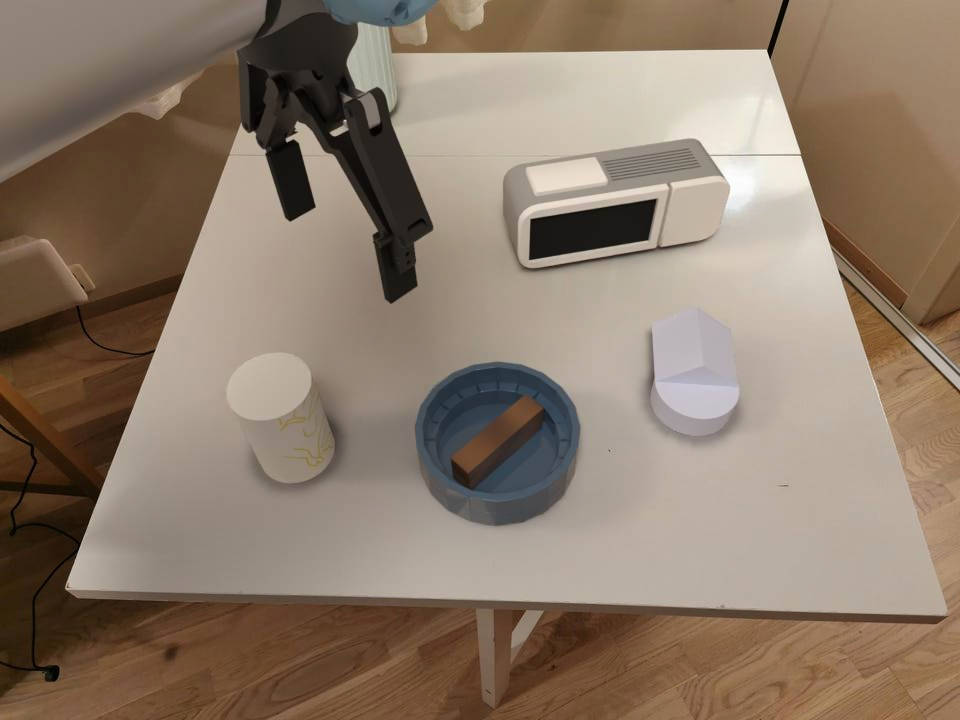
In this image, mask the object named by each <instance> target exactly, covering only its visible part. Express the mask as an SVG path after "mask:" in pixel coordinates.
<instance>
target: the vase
mask: <svg viewBox="0 0 960 720" xmlns="http://www.w3.org/2000/svg"><path fill="white" fill-rule="evenodd" d="M357 24H358V38H357V41H356V43H355V45H354V47H353V48H352V50H351V52H350V54H349V57H348V59H347V66H348V70H349V72H350V75H351V78H352V80H353V82H354V84H355V87H356V89H358V90H361V91H363V92H367V91H369V90H371V89H373V88H375V87H379V88H381V89H382V91H383V92H384V94H385V96H386V99H387V103H388V108H389V113H391V112H392V111H393V110H394V108H395V106H396V104H397V101H398V89H397V82H396V73H395V67H394V59H393V58H394V57H393V52H392V51H393V50H392V44H391V37H390V29H389V28H390V27H380V26H375V25H371V24H366V23H362V22H359V23H357Z"/></svg>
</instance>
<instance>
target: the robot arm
mask: <svg viewBox="0 0 960 720" xmlns="http://www.w3.org/2000/svg"><path fill="white" fill-rule="evenodd" d="M439 1H440V0H0V184H1V183H3V182H5V181H7V180H9V179H11V178H12V177H14V176H16V175H17V174H20V173H21V172H23V171H25V170H27V169H28V168H30V167H32V166H34V165H36V164H37V163H39V162H41V161H43V160H44V159H46V158H48V157H50V156H52V155H53V154H55V153H57V152H59V151H61V150H62V149H64V148H66V147H68V146H69V145H71V144H73V143H75V142H76V141H78V140H81V139H82V138H84V137H85V136H88V135H89V134H91V133H93V132H94V131H96V130H98V129H100V128H101V127H103V126H105V125H106V124H108V123H111V122H112V121H114V120H116V119H117V118H119V117H121V116H123V115H125V114H126V113H128V112H130V111H132V110H134V109H136V108H137V107H139V106H141V105H143V104H144V103H146V102H148V101H149V100H151V99H154V98H155V97H157V96H158V95H161V94H163V93H164V92H165V91H168V90H170V89H171V88H173V87H175V86H176V85H178V84H180V83H182V82H183V81H186V80H187V79H189V78H191V77H192V76H194V75H196V74H198V73H199V72H201V71H203V70H205V69H207V68H209V67H210V66H212V65H214V64H215V63H218V62H220V61H221V60H223V59H224V58H226V57H229V56H230V55H231V54H234V53H236V56H237V60H238V85H239V107H240V108H239V109H240V123H241V126H242V129H243V130H244V131H245V132H246V133H247V134H251V133H253V132H254V133H255V140H256V144H257V145H258V146H259V147H260V149H262V150H265V153H264V156H265V159H266V161H267V166H268V168H269V171H270V174H271V177H272V181H273V185H274V188H275V190H276V193H277V196H278V200H279V203H280V206H281V209H282V212H283V216H284V219H285V220H287V222H289V223H290V222H293V221H295V220H296V219H298V218H300V217H302V216H304V215H306V214H307V213H309V212H310V211H313V210H315V208H317V206H316V205H317V204H316V202H315V199H314V194H313V191H312V190H313V189H312V187H311V183H310V180H309V176H308V172H307V168H306V164H305V161H304V157H303V153H302V150H301V149H302V148H301V146H300V142H298V141H297V140H296V139H294V138H293V139H291V140H289V141H287V139H288V138H290V137H292V136H294V135H296V134H298V133H299V131H296V130H297V128H296V125H297V122H298V123H299V124H303V125H305V126H306V127H307V128H308V129H309V130H310V131H311V132H312V134H313V135H314V137H315V139H316V141H317V142H318V144H319V145H320V148H321V149H322V150H323V152H324V153H326V154H328V155H329V154H330V155H332V156H334V158H335V159H336V161H337V162H338V164H339V166H340V168H341V169H342V172H343V173H344V175H345V176H346V179H347V180H348V182H349V184H350V185H351V187H352V188H353V191H354V192H355V194H356V196H357V197H358V199H359V201H360V203H361V204H362V206H363V207H364V210H365V211H366V213H367V215H368V217H369V218H370V220H371V221H372V223H373V226H374V227H375V228H376V230H377V231H376V232H374V233H373V234H372V244H373V246H374V250H375V255H376V262H377V267H378V271H379V276H380V277H379V278H380V281H381V287H382V293H383V297H384V300H385V301H386V302H388V303H389V305H392V304H394V303H395V302H396V301H398V300H399V299H401V298H403V297H404V296H406V295H407V294H409V293H410V292H411V291H413V290H414V289H416V288H417V287H418V285H419V284H418V278H417V277H418V276H417V271H416V264H417V256H416V248H415V243H416V242H417V241H419V240H420V239H422V238H424V237H425V236H427V235H428V234H430V233H431V232H433V231H434V224H433V221H432V219H431V217H430V214H429V211H428V210H427V207H426V205H425V202H424V199H423V197H422V195H421V191H420V189H419V186H418V185H417V182H416V180H415V177H414V175H413V173H412V170H411V167H410V165H409V163H408V160H407V158H406V156H405V153H404V151H403V148H402V146H401V143H400V141H399V139H398V138H399V137H398V136H397V133H396V131H395V129H394V125H393V122H392V118H391V114H390V113H391V112H390V113H389V108H388V103H387V99H386V96H385V94H384V92H383V91H382V89H381V88H379V87H375V88H373V89H371V90H369V91H367V92H363V91H361V90H358V89H356V87H355V84H354V82H353V80H352V78H351V75H350V72H349V70H348V66H347V59H348V57H349V54H350V52H351V50H352V48H353V47H354V45H355V43H356V41H357V38H358V24H357V23H359V22H362V23H366V24H371V25H375V26H380V27H388V28H396V27H403V26H404V27H405V26H409V25H412V24H414V23H415V22H417V21H419V20H420V19H422V18H423V17H425V16H426V15H427V14H428V13H429V12H430V11H431V10H433V8H434V7H435V6H436V5H437V4H438V3H439ZM343 126H344V127H345V128H346V129H347V130H345V131H343V132H342V133H339V134H337V135H332V132H334V131H336V130H337V129H339V128H341V127H343Z"/></svg>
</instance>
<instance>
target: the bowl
mask: <svg viewBox="0 0 960 720" xmlns="http://www.w3.org/2000/svg"><path fill="white" fill-rule="evenodd" d="M525 394H526V395H528V396H529V397H530V398H531V399H533V400H534V401H535V402H537V403H538V404H539V405H540V406H542V407H543V421H542V429H541V430H540V431H538V432H537V433H536V434H535V435H534V436H533V437H532V438H531V439H529V440H528V441H527V442H526V443H525V444H524V445H523V446H522V447H520V448H519V449H518V450H517V451H516V452H515V453H514V454H513V455H511V456H510V457H509V458H508V459H507V460H506V461H505V462H504V463H502V464H501V465H500V466H499V467H498V468H497V469H496V470H495V471H493V472H492V473H491V474H490V475H489V476H488V477H487V478H486V479H484V480H483V481H482V482H481V483H480V484H479V485H478V486H477V487H475V488H474V489H473V490H470V489H468V488H465V487H463V486H462V485H461V484H460V483H459V482H458V481H457V480H456V479H455V478H454V477H453V473H452V465H451V457H452V456H453V455H454V454H455V453H457V452H458V451H459V450H460V449H461V448H463V447H464V446H465V445H466V444H467V443H468V442H470V441H471V440H472V439H473V438H474V437H476V436H477V435H478V434H479V433H480V432H481V431H483V430H484V429H485V428H486V427H487V426H489V425H490V424H491V423H492V422H493V421H494V420H496V419H497V418H498V417H499V416H500V415H502V414H503V413H504V412H505V411H506V410H507V409H509V408H510V407H511V406H512V405H513V404H515V403H516V402H517V401H518V400H519V399H520V398H522V397H523V396H524V395H525ZM414 435H415V446H416V452H417V458H418V463H419V469H420V473H421V477H422V478H423V480H424V482H425V484H426V486H427V488H428V490H429V492H430V494H431V495H432V496H433V497H434V498H435V499H436V500H437V501H438V502H439V503H440V505H442V506H443V507H444V508H445V509H446V510H447V511H449V512H450V513H453V514H454V515H457V516H458V517H461V518H463V519H464V520H467V521H469V522H471V523H477V524H483V525H491V526H496V527H497V526H504V525H512V524H518V523H524V522H526V521H529V520H531V519H533V518H535V517H537V516H540V515H542V514H543V513H546V512H547V511H549V509H551V507H553V506H554V505H555V504H556V503H557V502H558V501H559V500H561V498H562V497H563V496H564V495H565V494H566V492H567V490H568V488H569V486H570V483H571V482H572V480H573V478H574V476H575V473H576V465H577V460H578V453H579V447H580V438H581V437H580V436H581V422H580V419H579V415H578V411H577V408H576V405H575V403H574V402H573V400H572V399H571V398H570V397H569V395H568V393H567V391H566V390H565V389H564V388H563V386H562V385H560V384H559V383H558V382H556V381H555V380H554V379H552V378H551V377H549V376H548V375H546V373H544V372H542V371H540V370H537V369H535V368H532V367H530V366H527V365H524V364H521V363H515V362H506V361H491V362H483V363H474V364H471V365H468V366H466V367H464V368H461V369H458V370H456V371H454V372H451V373H450V374H449V375H447V376H446V377H445V378H443V379H441V381H439V382H438V383H437V384H435V385H434V386H433V387H432V388H431V390H430V391H429V393H428V394H427V395H426V397H425V398H424V400H423V401H422V402H421V404H420V406H419V409H418V413H417V416H416V420H415V423H414Z"/></svg>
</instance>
